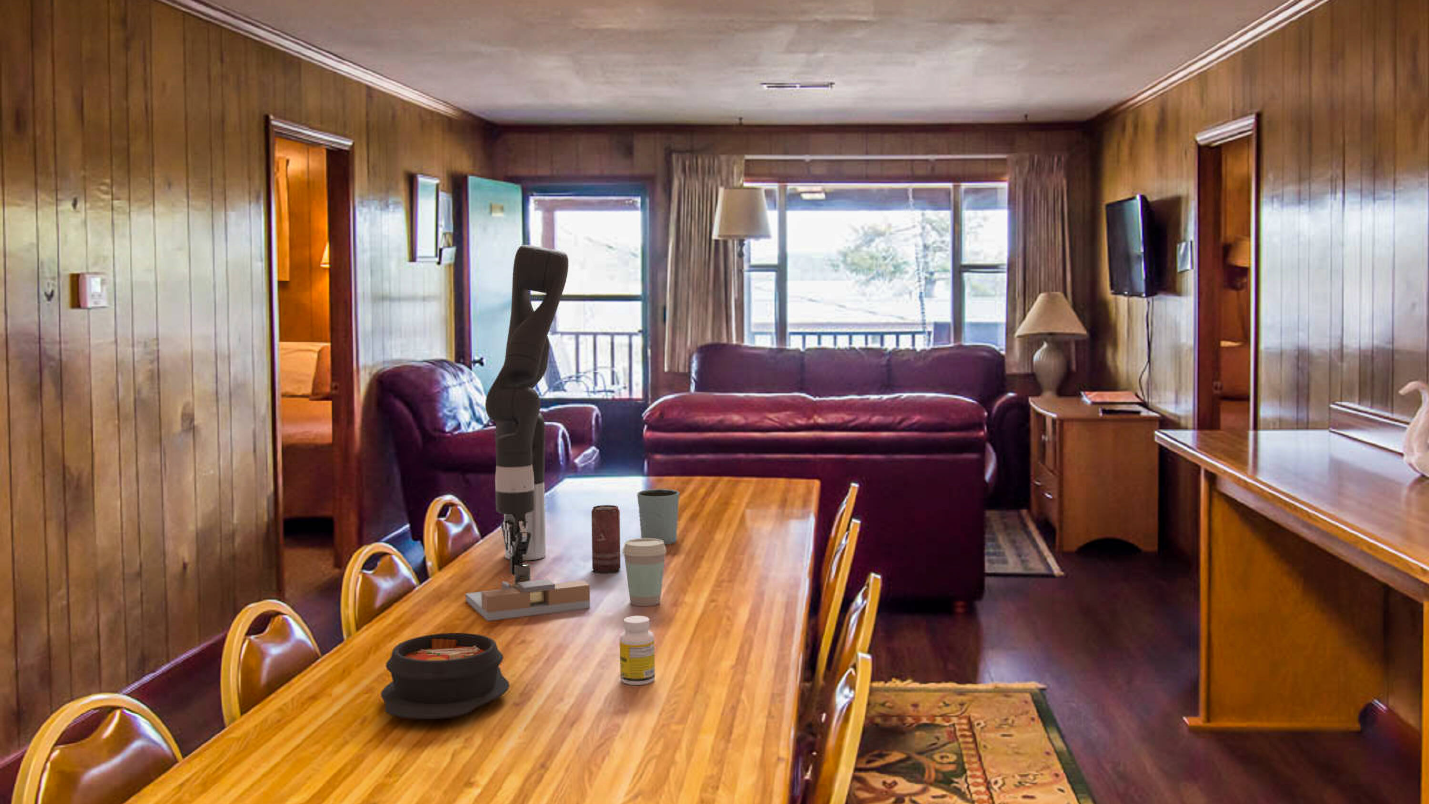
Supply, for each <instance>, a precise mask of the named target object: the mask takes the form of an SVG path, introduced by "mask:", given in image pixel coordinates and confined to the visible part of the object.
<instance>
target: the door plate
mask: <svg viewBox="0 0 1429 804" xmlns="http://www.w3.org/2000/svg"><path fill="white" fill-rule="evenodd" d="M590 587H591V586H590V584H589V583H588V582H586V581H584V580H576V581H567V582H555V583H554V582H553V581H551V580H550V579H547V578H544V579H537V580H530V581H527V582H518V583H517V588H514V587H513V585H511V584H510V582H507V581H502V582H501V589H495V590H487V591H486V590H484V591H476V592H468V593H467V592H465V602H467V603H468V604H469V605H470V606H471V607H472V608H473V609H474V610H475V611H477V613H478V614H479V615H480V616H482V617H483V618H484V619H485V620H486V621H489V622H490V621H495V620H496V621H497V620H505V619H512V618H514V619H515V618H521V617H528V616H529V617H531V616H537V615H544V614H545V615H546V614H552V613H560V612H561V613H562V612H568V611H569V612H570V611H576V610H577V611H578V610H584V609H585V610H586V609H590V608H591V596H590V595H591V590H590V589H591V588H590ZM536 591H544V602H537V603H530V592H536Z"/></svg>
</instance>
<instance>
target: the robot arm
mask: <svg viewBox="0 0 1429 804" xmlns="http://www.w3.org/2000/svg"><path fill="white" fill-rule="evenodd" d="M568 273H569V257H568V255H567V253H566V252H564V251H562V250H557V249H552V248H547V247H544V246H543V247H541V246H536V245H530V244H523V245H520V246H519V247H518V248H517V251H516V253H515V255H514V261H513V269H512V282H511V283H512V286H511V287H512V288H511V308H510V309H511V311H510V318H509V319H510V320H509V327H508V332H507V333H508V335H507V341H506V346H505V354H504V355H505V356H504V363H503V365H502V367H501V369H500V371H499V372H498V375H497V376H496V378H495V380H494V381H493V383H492V385H490V386H491V387H490V388H489V390H488V392H487V394H486V398H485V404H484V405H485V406H484V407H485V408H484V409H485V411H486V414H487V417H488V418H489V420H491V421H492V422H496V423H495V431H494V433H495V434H494V438H495V464H496V466H495V477H494V478H495V479H494V483H495V511H496V513H498V514H501V515H503V518H504V519H503V522H502V523H501V525H500V528H501V531H502V536H503V541H504V558H505V559H507V560H509V568H510V569H509V571H510V574H511V575H512V576H515V565H516V564H521V563H524V561H532V560H533V561H534V560H539V559H543V558H545V557H546V556H547V554H546V550H547V548H546V509H545V508H546V504H545V502H546V500H545V499H546V498H545V470H546V469H545V466H546V463H545V461H546V460H545V452H546V450H545V449H546V423H545V419H544V416H543V414H542V413H541V412H540V410H541V399H540V396H539V394H538V392H537V390H535V389H534V388H535V387H536V386H537V385H538V384H539V383H540V381H542V379H543V377H544V376H545V373H546V372H547V368H548V362H549V356H550V347H551V345H550V340H549V336H548V335H549V331H550V330H551V326H552V324H553V321H554V319H555V315H556V313H557V310H558V307H559V304H560V301H561V299H562V296H563V292H564V290H565V285H566V283H567V279H568ZM530 291H531V292H537V293H543V294H545V296H544V298H543V300H542V302H541V303H540V305H538V307H537V308H536V309H534V308H533V304H532V301H531V297H530Z"/></svg>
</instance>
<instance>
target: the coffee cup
mask: <svg viewBox="0 0 1429 804" xmlns="http://www.w3.org/2000/svg"><path fill="white" fill-rule="evenodd" d="M666 553H667V547H666V544H664V542H663V541H662V540H659V539H652V538H641V537H640V538H634V539H633V538H632V539H629V540H627V541H625V543H624V547H622V554H623V555H624V563H625V572H626V578H627V579H626V580H627V588H628V595H629V603H630V604H631V605H632V606H636V607H652V606H653V607H654V606H657V605H659V604H660V603H661V598H662V597H661V595H662V587H663V577H664V566H665V559H666V558H665V556H666Z"/></svg>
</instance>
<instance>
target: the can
mask: <svg viewBox="0 0 1429 804" xmlns="http://www.w3.org/2000/svg"><path fill="white" fill-rule="evenodd" d="M620 516H621V512H620V509H619V507H618V505H611V504H609V505H608V504H602V505H595V506H593V507H592V510H591V550H592V551H591V561H592V562H591V563H592V565H591V567H592V570H593V572H595V573H599V574H611V573H612V574H614V573H617V572H619V571H620V569H621V517H620Z"/></svg>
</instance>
